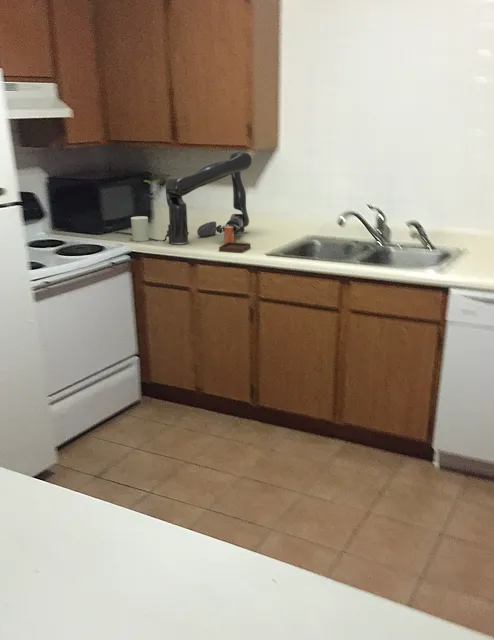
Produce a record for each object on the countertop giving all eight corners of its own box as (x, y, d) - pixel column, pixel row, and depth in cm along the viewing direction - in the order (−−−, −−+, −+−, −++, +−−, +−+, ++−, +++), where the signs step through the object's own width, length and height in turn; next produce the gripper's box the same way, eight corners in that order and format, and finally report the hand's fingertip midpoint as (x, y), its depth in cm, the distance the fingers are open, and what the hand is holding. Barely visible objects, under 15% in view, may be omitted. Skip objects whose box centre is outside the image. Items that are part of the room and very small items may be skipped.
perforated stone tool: (201, 238, 359) (200, 225, 356) (194, 237, 362) (193, 224, 359) (219, 234, 369) (219, 221, 367) (212, 233, 373) (212, 220, 370)
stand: (219, 251, 330) (219, 246, 329) (228, 246, 340) (228, 242, 339) (241, 253, 326) (241, 248, 325) (250, 247, 336) (250, 243, 335)
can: (134, 241, 354) (132, 218, 349) (130, 238, 362) (129, 216, 357) (151, 240, 356) (149, 217, 352) (147, 237, 364) (146, 214, 360)
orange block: (223, 245, 343) (222, 227, 340) (226, 243, 347) (226, 225, 344) (231, 245, 342) (231, 227, 338) (235, 243, 346) (234, 226, 342)
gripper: (220, 218, 354) (214, 223, 340) (247, 218, 352) (241, 224, 337) (221, 232, 357) (214, 238, 343) (247, 233, 355) (241, 239, 340)
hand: (228, 231), depth 340 cm, fingers open, 8 cm apart
